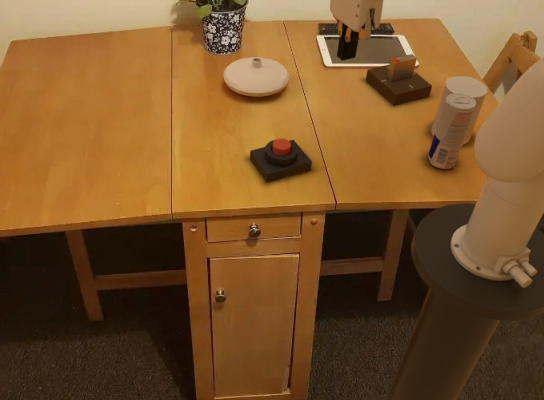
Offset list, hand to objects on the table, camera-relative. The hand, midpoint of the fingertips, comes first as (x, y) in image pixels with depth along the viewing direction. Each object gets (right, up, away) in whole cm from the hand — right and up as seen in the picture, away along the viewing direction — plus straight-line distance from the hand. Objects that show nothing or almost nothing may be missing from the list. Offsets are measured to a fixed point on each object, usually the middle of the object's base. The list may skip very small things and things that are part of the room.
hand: (346, 57), depth 110 cm
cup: (+26, -13, +17) cm, 34 cm away
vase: (-15, +1, +31) cm, 35 cm away
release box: (-12, -20, +9) cm, 25 cm away
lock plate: (+19, 0, +30) cm, 36 cm away
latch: (+19, +2, +28) cm, 34 cm away
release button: (-12, -17, +7) cm, 22 cm away
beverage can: (+22, -19, +10) cm, 31 cm away
